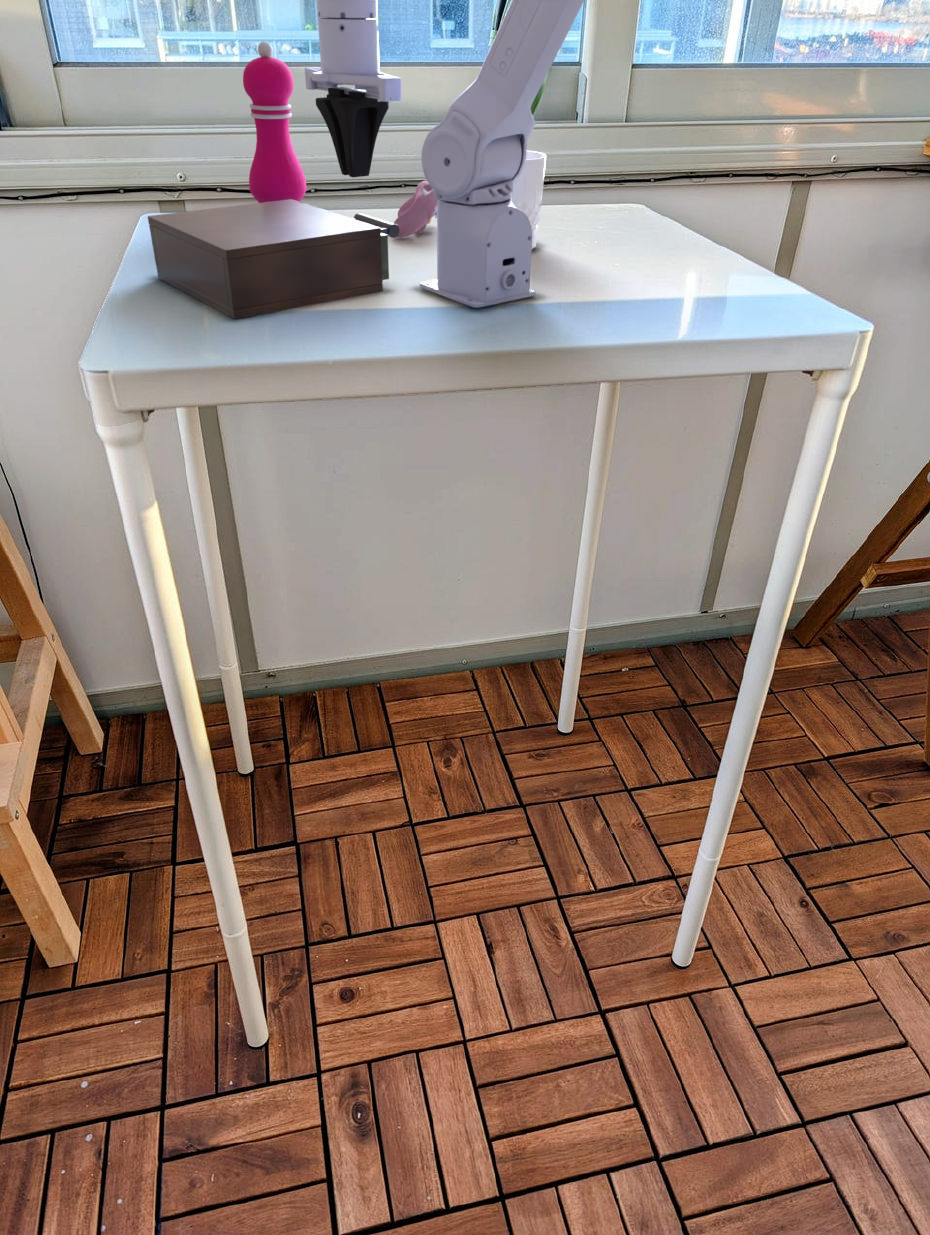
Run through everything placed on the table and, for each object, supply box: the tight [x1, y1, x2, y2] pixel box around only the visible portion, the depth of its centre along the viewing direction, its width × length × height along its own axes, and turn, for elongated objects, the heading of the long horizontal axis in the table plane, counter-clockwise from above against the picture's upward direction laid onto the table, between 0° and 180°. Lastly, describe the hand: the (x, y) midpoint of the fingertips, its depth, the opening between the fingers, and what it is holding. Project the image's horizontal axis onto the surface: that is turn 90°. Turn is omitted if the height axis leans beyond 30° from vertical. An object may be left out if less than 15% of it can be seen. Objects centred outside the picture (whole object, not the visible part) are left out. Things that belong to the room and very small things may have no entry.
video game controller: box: [393, 179, 437, 239], centre depth 114 cm, size 10×5×7 cm, turn 179°
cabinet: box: [147, 199, 384, 320], centre depth 92 cm, size 17×18×6 cm
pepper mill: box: [242, 41, 307, 203], centre depth 112 cm, size 7×7×20 cm
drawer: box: [351, 212, 399, 281], centre depth 94 cm, size 20×16×4 cm
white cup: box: [511, 150, 547, 250], centre depth 106 cm, size 8×8×10 cm
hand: (355, 175), depth 94 cm, fingers closed
